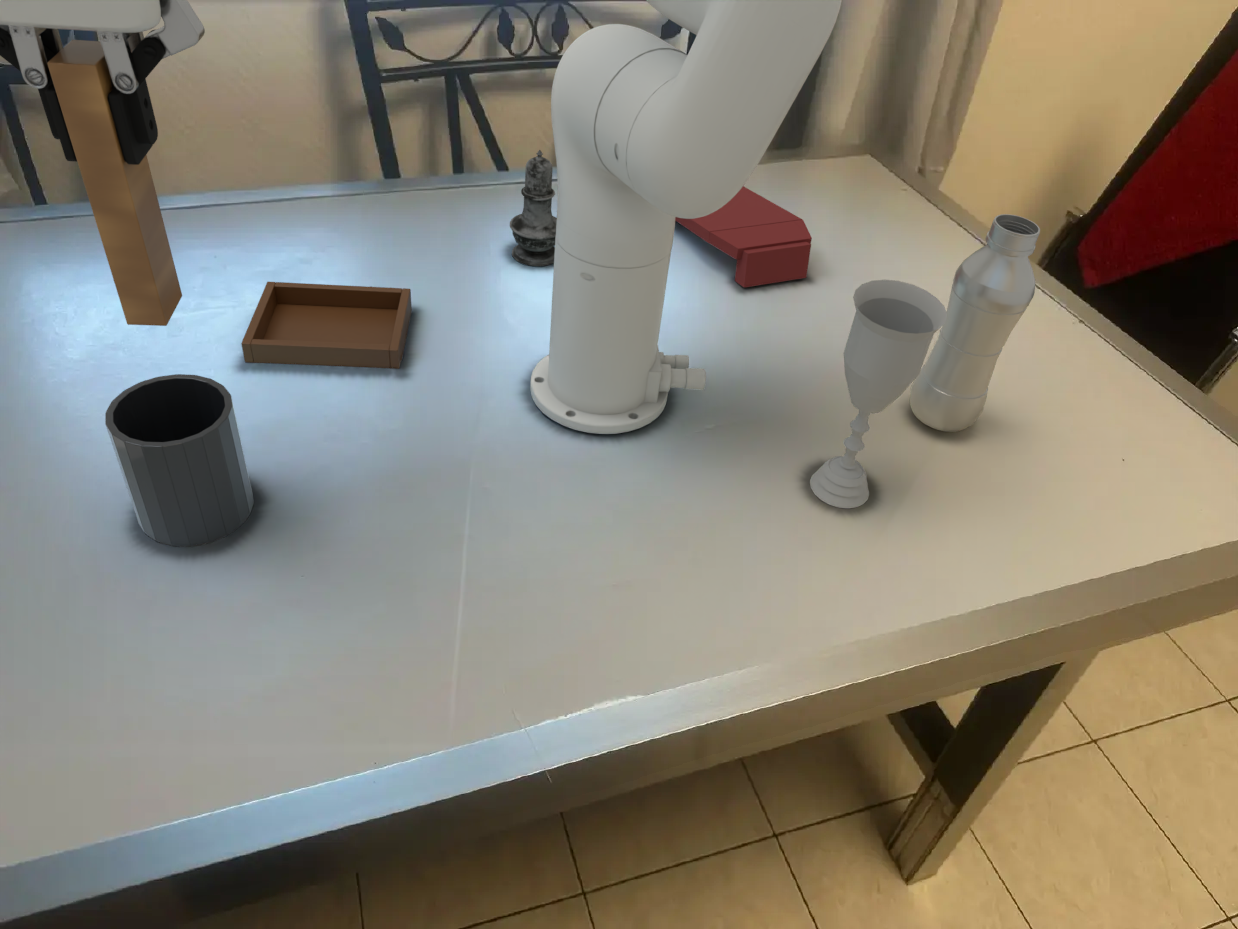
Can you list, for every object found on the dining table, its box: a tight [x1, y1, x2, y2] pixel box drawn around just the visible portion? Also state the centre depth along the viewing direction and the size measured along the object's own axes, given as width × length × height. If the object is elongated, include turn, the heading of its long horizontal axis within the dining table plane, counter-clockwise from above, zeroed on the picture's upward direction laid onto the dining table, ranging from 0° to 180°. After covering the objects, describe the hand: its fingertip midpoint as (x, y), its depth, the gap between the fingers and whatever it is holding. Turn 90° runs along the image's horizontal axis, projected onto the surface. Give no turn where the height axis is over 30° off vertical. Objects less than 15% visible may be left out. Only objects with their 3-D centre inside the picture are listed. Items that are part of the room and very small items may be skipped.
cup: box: [104, 373, 255, 547], centre depth 69 cm, size 8×8×10 cm
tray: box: [240, 281, 413, 370], centre depth 90 cm, size 14×11×3 cm
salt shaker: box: [509, 149, 557, 267], centre depth 102 cm, size 6×6×12 cm
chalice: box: [809, 279, 947, 509], centre depth 75 cm, size 7×7×18 cm
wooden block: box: [47, 39, 183, 327], centre depth 56 cm, size 2×4×16 cm, turn 4°
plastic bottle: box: [908, 213, 1041, 433], centre depth 83 cm, size 6×7×20 cm
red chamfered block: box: [675, 185, 813, 288], centre depth 114 cm, size 12×5×25 cm
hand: (111, 150), depth 54 cm, fingers closed on wooden block, 2 cm apart
